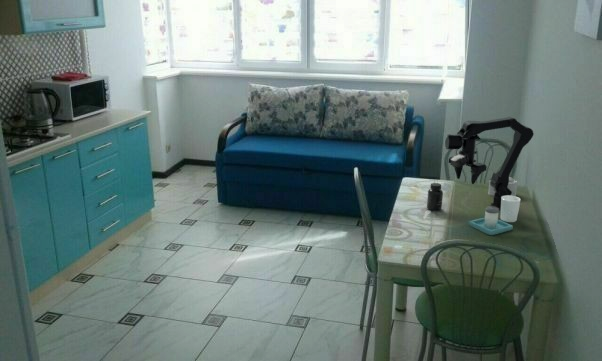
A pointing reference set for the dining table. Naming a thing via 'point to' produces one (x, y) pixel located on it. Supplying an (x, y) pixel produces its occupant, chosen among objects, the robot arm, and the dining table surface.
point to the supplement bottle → (435, 197)
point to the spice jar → (491, 217)
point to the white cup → (509, 208)
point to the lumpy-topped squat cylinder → (511, 185)
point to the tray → (480, 226)
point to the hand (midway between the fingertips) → (465, 181)
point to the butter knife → (426, 214)
